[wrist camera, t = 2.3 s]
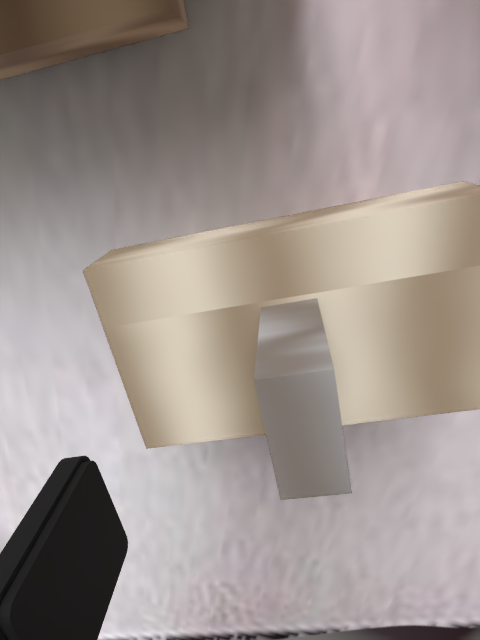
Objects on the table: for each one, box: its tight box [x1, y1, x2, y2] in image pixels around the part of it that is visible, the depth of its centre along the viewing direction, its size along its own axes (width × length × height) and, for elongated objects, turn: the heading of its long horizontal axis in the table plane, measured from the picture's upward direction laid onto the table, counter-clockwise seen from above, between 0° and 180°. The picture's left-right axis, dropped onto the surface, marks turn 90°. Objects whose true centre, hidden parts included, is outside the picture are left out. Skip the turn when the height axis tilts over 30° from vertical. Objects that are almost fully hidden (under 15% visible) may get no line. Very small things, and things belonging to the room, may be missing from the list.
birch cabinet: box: [83, 181, 480, 500], centre depth 18 cm, size 14×8×15 cm, turn 102°
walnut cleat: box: [0, 0, 189, 80], centre depth 18 cm, size 12×2×4 cm, turn 102°
